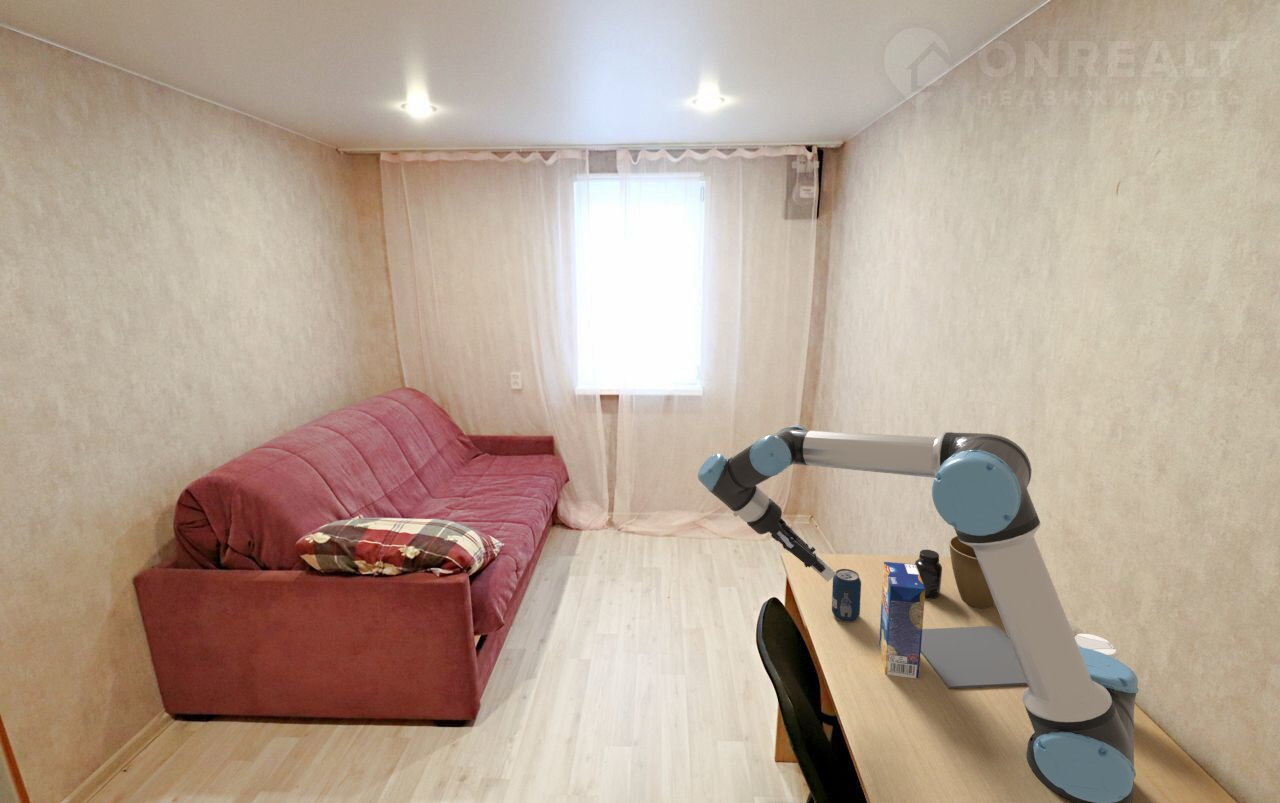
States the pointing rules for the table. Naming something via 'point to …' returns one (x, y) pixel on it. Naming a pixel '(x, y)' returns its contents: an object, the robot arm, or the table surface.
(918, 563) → the supplement bottle
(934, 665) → the mat
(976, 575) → the plant pot
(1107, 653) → the paper cup
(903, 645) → the beverage box
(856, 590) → the soda can
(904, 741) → the table surface
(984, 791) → the table surface
